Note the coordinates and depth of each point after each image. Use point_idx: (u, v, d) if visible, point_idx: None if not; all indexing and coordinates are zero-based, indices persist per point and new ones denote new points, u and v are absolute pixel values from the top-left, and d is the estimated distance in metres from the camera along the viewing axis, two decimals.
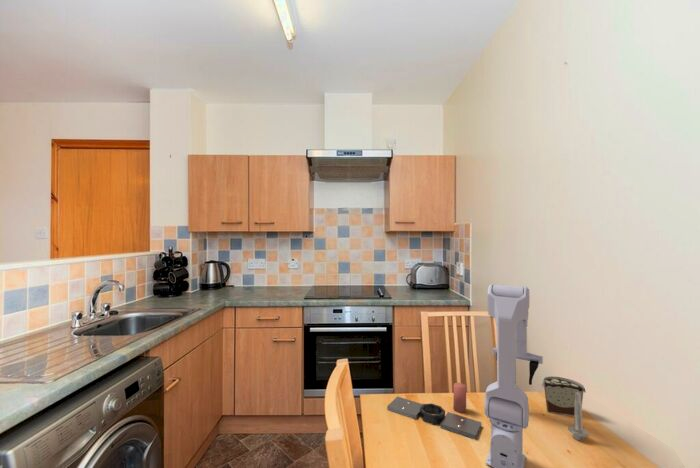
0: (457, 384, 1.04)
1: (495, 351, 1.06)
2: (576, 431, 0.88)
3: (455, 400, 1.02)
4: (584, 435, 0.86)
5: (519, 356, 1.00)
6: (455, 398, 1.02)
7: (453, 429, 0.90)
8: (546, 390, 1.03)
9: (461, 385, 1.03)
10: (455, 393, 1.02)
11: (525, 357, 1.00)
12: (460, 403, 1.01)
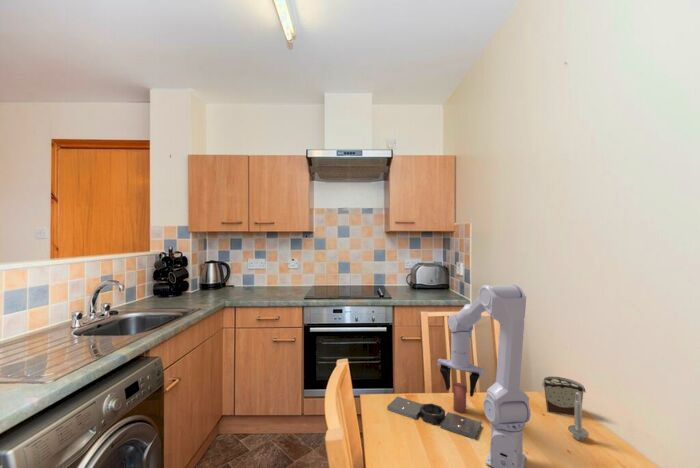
0: (457, 384, 1.04)
1: (439, 362, 1.06)
2: (576, 431, 0.88)
3: (455, 400, 1.02)
4: (584, 435, 0.86)
5: (460, 368, 1.01)
6: (455, 398, 1.02)
7: (453, 429, 0.90)
8: (546, 390, 1.03)
9: (461, 385, 1.03)
10: (455, 393, 1.02)
11: (466, 369, 1.00)
12: (460, 403, 1.01)
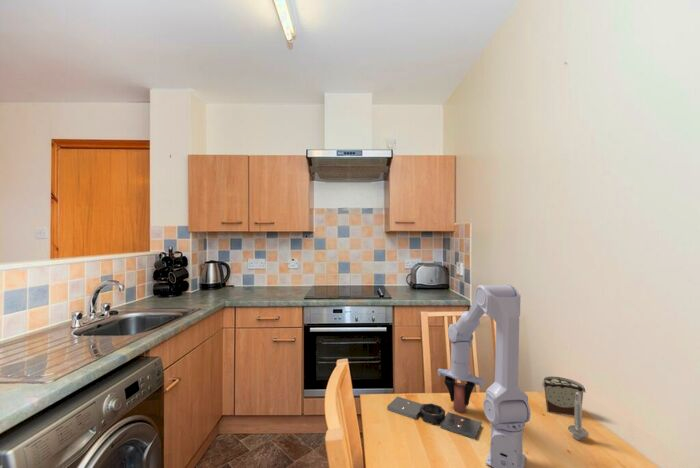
0: (457, 384, 1.04)
1: (439, 372, 1.06)
2: (576, 431, 0.88)
3: (455, 400, 1.02)
4: (584, 435, 0.86)
5: (460, 378, 1.00)
6: (455, 398, 1.02)
7: (453, 429, 0.90)
8: (546, 390, 1.03)
9: (461, 385, 1.03)
10: (455, 393, 1.02)
11: (466, 379, 1.00)
12: (460, 403, 1.01)
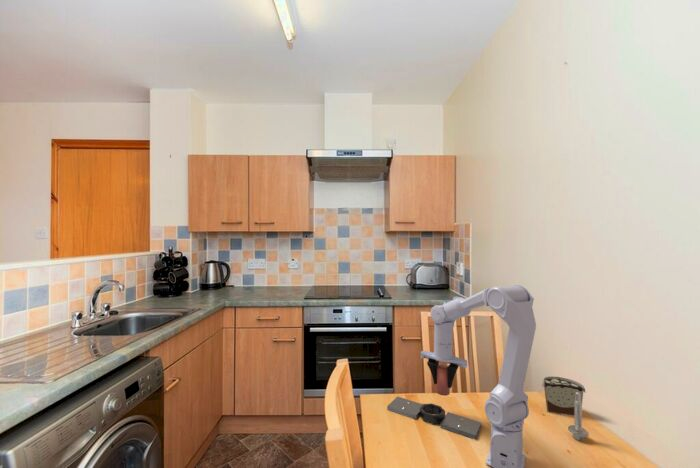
0: (440, 366, 1.01)
1: (423, 354, 1.03)
2: (576, 431, 0.88)
3: (438, 382, 0.99)
4: (584, 435, 0.86)
5: (443, 360, 0.98)
6: (437, 380, 0.99)
7: (453, 429, 0.90)
8: (546, 390, 1.03)
9: (444, 367, 1.01)
10: (438, 375, 0.99)
11: (449, 361, 0.97)
12: (443, 385, 0.98)
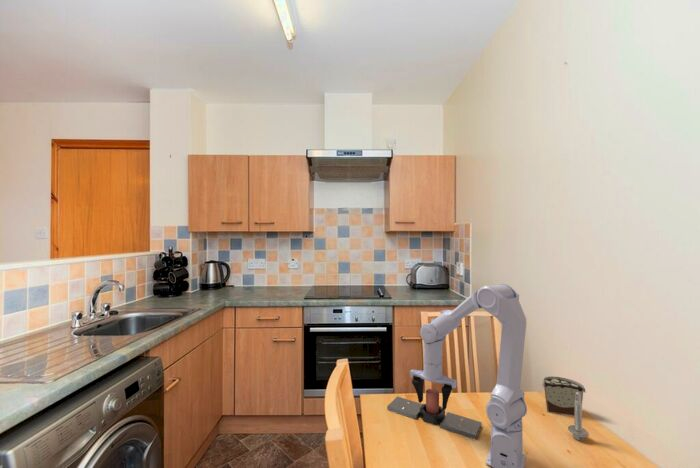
0: (429, 391, 0.99)
1: (412, 373, 1.01)
2: (576, 431, 0.88)
3: (427, 407, 0.97)
4: (584, 435, 0.86)
5: (432, 380, 0.95)
6: (427, 405, 0.97)
7: (453, 429, 0.90)
8: (546, 390, 1.03)
9: (434, 391, 0.98)
10: (427, 400, 0.97)
11: (438, 381, 0.95)
12: (432, 411, 0.96)
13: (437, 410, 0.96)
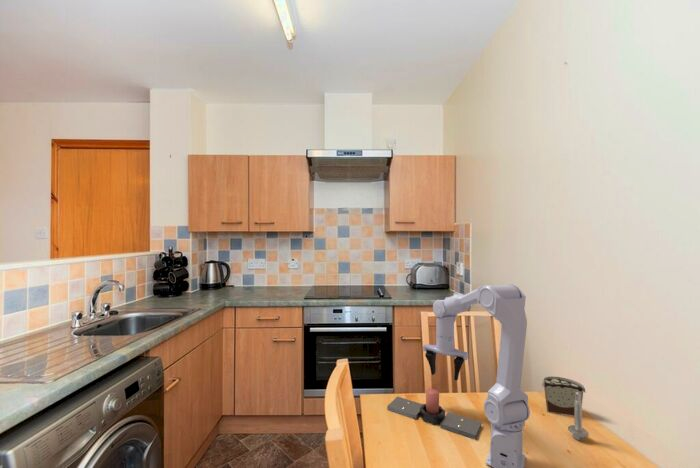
0: (429, 391, 0.99)
1: (425, 347, 1.07)
2: (576, 431, 0.88)
3: (427, 407, 0.97)
4: (584, 435, 0.86)
5: (445, 352, 1.01)
6: (427, 405, 0.97)
7: (453, 429, 0.90)
8: (546, 390, 1.03)
9: (434, 391, 0.98)
10: (427, 400, 0.97)
11: (451, 353, 1.01)
12: (432, 411, 0.96)
13: (437, 410, 0.96)
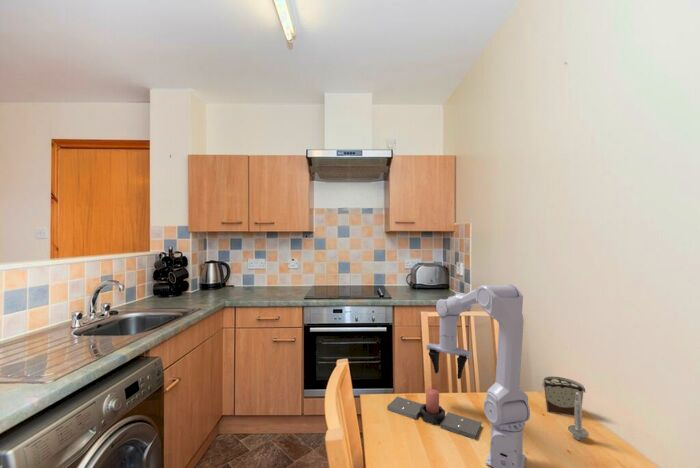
0: (429, 391, 0.99)
1: (428, 346, 1.09)
2: (576, 431, 0.88)
3: (427, 407, 0.97)
4: (584, 435, 0.86)
5: (448, 351, 1.03)
6: (427, 405, 0.97)
7: (453, 429, 0.90)
8: (546, 390, 1.03)
9: (434, 391, 0.98)
10: (427, 400, 0.97)
11: (454, 352, 1.03)
12: (432, 411, 0.96)
13: (437, 410, 0.96)
